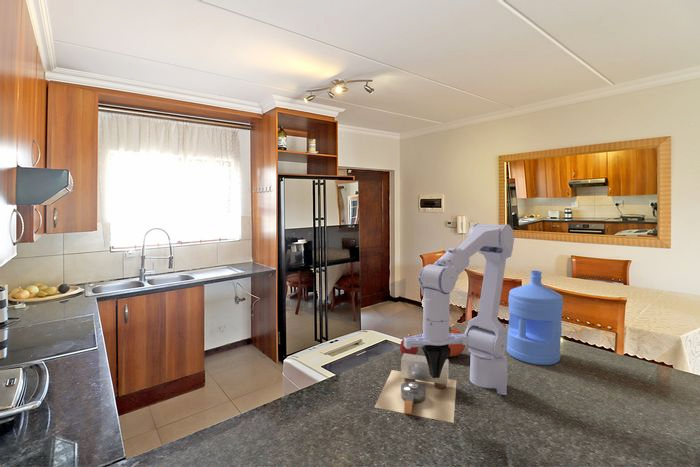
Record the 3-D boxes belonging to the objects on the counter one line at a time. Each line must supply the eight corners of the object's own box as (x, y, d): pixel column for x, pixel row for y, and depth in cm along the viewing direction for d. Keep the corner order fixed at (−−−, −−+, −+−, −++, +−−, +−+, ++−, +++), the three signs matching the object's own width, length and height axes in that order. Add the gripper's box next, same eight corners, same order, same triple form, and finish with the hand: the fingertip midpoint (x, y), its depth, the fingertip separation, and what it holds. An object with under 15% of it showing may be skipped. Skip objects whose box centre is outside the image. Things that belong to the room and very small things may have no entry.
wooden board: (456, 384, 96) (456, 373, 95) (453, 428, 77) (453, 414, 76) (391, 374, 101) (392, 364, 101) (374, 412, 82) (374, 399, 82)
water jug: (523, 342, 125) (527, 265, 123) (569, 359, 112) (574, 273, 110) (496, 352, 117) (499, 269, 115) (542, 370, 104) (547, 278, 102)
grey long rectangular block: (448, 377, 93) (448, 359, 93) (447, 384, 89) (447, 365, 89) (403, 370, 97) (403, 353, 97) (400, 377, 93) (401, 359, 93)
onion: (417, 363, 108) (418, 338, 108) (399, 361, 109) (399, 336, 109) (418, 355, 114) (418, 331, 113) (400, 354, 115) (400, 330, 115)
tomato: (443, 346, 122) (443, 318, 121) (470, 355, 114) (471, 325, 114) (426, 355, 115) (427, 325, 114) (455, 365, 107) (456, 333, 106)
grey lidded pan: (403, 388, 91) (403, 376, 90) (426, 392, 89) (426, 380, 88) (395, 411, 81) (395, 397, 80) (421, 416, 79) (421, 402, 78)
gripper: (457, 311, 84) (455, 365, 85) (399, 314, 81) (398, 370, 82) (472, 320, 77) (470, 379, 78) (410, 324, 74) (409, 385, 75)
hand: (434, 376), depth 80 cm, fingers closed
